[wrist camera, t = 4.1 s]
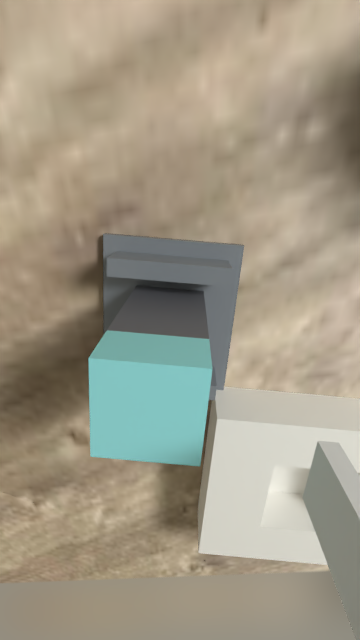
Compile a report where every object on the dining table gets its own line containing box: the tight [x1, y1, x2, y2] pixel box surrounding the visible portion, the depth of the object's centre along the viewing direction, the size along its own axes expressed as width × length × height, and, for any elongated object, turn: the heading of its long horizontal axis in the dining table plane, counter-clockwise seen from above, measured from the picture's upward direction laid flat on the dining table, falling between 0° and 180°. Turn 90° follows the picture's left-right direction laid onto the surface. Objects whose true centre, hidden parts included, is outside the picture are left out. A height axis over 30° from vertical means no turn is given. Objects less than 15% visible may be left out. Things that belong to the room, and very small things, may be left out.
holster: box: [103, 233, 244, 400], centre depth 24 cm, size 10×12×4 cm
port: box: [198, 387, 360, 565], centre depth 28 cm, size 16×14×4 cm
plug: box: [88, 285, 213, 466], centre depth 20 cm, size 5×5×12 cm
